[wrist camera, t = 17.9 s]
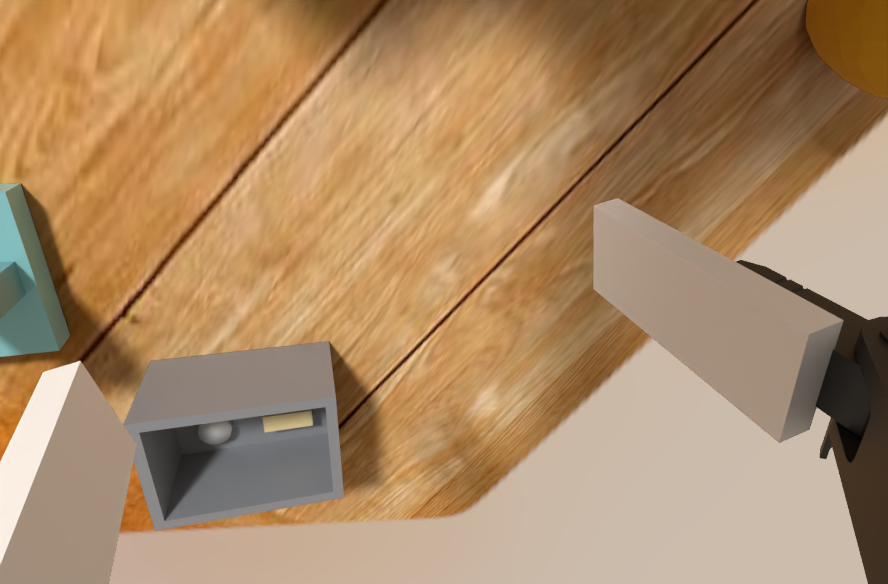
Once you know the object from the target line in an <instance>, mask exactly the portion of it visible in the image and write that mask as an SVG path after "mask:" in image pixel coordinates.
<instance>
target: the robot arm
mask: <svg viewBox="0 0 888 584" xmlns="http://www.w3.org/2000/svg"><path fill="white" fill-rule="evenodd" d="M593 289H594V290H595V291H596V292H597V293H599V294H600V295H601V296H602V297H603V298H605V299H606V300H607V301H608V302H610V303H611V304H612V305H613V306H614V307H616V308H617V309H618V310H619V311H620V312H622V313H623V314H624V315H625V316H626V317H628V318H629V319H630V320H631V321H632V322H634V323H635V324H636V325H637V326H639V327H640V328H641V329H642V330H643V331H645V332H646V333H647V334H648V335H649V336H651V337H652V338H653V339H654V340H655V341H657V342H658V343H659V344H660V345H661V346H663V347H664V348H665V349H666V350H668V351H669V352H670V353H671V354H673V355H674V356H675V357H676V358H677V359H678V360H680V361H681V362H682V363H683V364H684V365H686V366H687V367H688V368H689V369H691V370H692V371H693V372H694V373H695V374H697V375H698V376H699V377H700V378H701V379H703V380H704V381H705V382H706V383H708V384H709V385H710V386H711V387H712V388H713V389H715V390H716V391H717V392H718V393H720V394H721V395H722V396H723V397H724V398H726V399H727V400H728V401H729V402H731V403H732V404H733V405H734V406H735V407H737V408H738V409H739V410H740V411H741V412H742V413H744V414H745V415H746V416H747V417H749V418H750V419H751V420H752V421H753V422H755V423H756V424H757V425H758V426H759V427H761V428H762V429H763V430H764V431H765V432H767V433H768V434H769V435H770V436H772V437H773V438H774V439H775V440H776V441H778V442H779V443H780V442H782V441H784V440H787V439H789V438H791V437H794V436H796V435H798V434H800V433H803V432H805V431H807V430H809V429H810V426H811V423H812V420H813V417H814V413H815V410H816V407H817V408H819V409H820V410H822V411H823V412H824V413H826V414H827V415H829V416H830V417H831V419H830V422H829V425H828V429H827V431H826V435H825V437H824V440H823V443H822V446H821V449H820V458H823V459H826V458H827V455H828V452H829V450H830V448H832V447H833V451H834V455H835V459H836V463H837V467H838V470H839V474H840V478H841V482H842V486H843V489H844V493H845V497H846V501H847V505H848V509H849V513H850V516H851V520H852V524H853V528H854V532H855V535H856V539H857V543H858V547H859V551H860V555H861V558H862V562H863V566H864V570H865V574H866V578H867V581H868V584H888V317H878V318H875V319H871V320H867V319H865V318H863V317H861V316H859V315H857V314H855V313H853V312H852V311H850V310H848V309H846V308H844V307H842V306H840V305H838V304H836V303H834V302H832V301H830V300H829V299H827V298H825V297H823V296H821V295H819V294H817V293H815V292H813V291H811V290H809V289H803V286H802V285H800V284H798V283H796V282H794V281H792V280H787V279H786V277H784V276H782V275H780V274H779V273H777V272H775V271H772V270H771V269H769V268H767V267H764V266H760V265H757V264H753V263H750V262H746V261H743V260H739V261H737V262H735V261H733V260H731V259H729V258H728V257H726V256H724V255H722V254H720V253H718V252H717V251H715V250H713V249H711V248H709V247H707V246H705V245H704V244H702V243H700V242H698V241H696V240H694V239H693V238H691V237H689V236H687V235H685V234H683V233H681V232H680V231H678V230H676V229H674V228H672V227H670V226H669V225H667V224H665V223H663V222H661V221H659V220H657V219H656V218H654V217H652V216H650V215H648V214H646V213H645V212H643V211H641V210H639V209H637V208H635V207H633V206H632V205H630V204H628V203H626V202H624V201H622V200H621V199H619V198H616V199H613V200H610V201H606V202H603V203H600V204H596V205H594V283H593ZM136 445H137V444H136V443H135V441H134V440H133V438H132V437H131V435H130V434H129V432H128V431H127V429H126V428H125V426H124V425H123V423H122V422H121V420H120V419H119V417H118V416H117V414H116V413H115V411H114V410H113V408H112V407H111V405H110V404H109V402H108V401H107V399H106V398H105V397H104V395H103V394H102V392H101V391H100V389H99V388H98V386H97V385H96V383H95V382H94V380H93V379H92V377H91V376H90V374H89V373H88V371H87V370H86V368H85V367H84V365H83V364H82V362H81V361H78V362H75V363H72V364H68V365H65V366H62V367H58V368H55V369H52V370H48V371H45V372H43V374H42V376H41V378H40V380H39V382H38V384H37V386H36V388H35V391H34V393H33V395H32V397H31V399H30V401H29V403H28V405H27V407H26V409H25V411H24V414H23V416H22V418H21V420H20V422H19V424H18V426H17V428H16V430H15V432H14V434H13V437H12V439H11V441H10V443H9V445H8V447H7V449H6V451H5V453H4V455H3V457H2V460H1V462H0V584H109V581H110V576H111V571H112V566H113V561H114V556H115V551H116V546H117V541H118V536H119V531H120V526H121V521H122V516H123V511H124V506H125V501H126V496H127V491H128V486H129V481H130V476H131V471H132V466H133V460H134V455H135V450H136Z"/></svg>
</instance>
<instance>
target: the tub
mask: <svg viewBox="0 0 888 584" xmlns="http://www.w3.org/2000/svg"><path fill="white" fill-rule="evenodd" d="M123 425H124V426H125V428H126V429H127V431H128V432H129V434H130V435H131V437H132V438H133V440H134V441H135V443H136V444H137V445H136V450H135V455H134V463H135V466H136V469H137V473H138V476H139V479H140V483H141V486H142V489H143V493H144V496H145V499H146V502H147V506H148V509H149V512H150V516H151V519H152V522H153V526H154V529H155V531H158V530H164V529H169V528H175V527H180V526H186V525H192V524H197V523H203V522H209V521H214V520H220V519H226V518H231V517H237V516H243V515H248V514H254V513H259V512H265V511H271V510H276V509H282V508H288V507H293V506H299V505H305V504H310V503H316V502H322V501H327V500H333V499H338V498H344V490H343V478H342V466H341V454H340V442H339V429H338V417H337V405H336V394H335V386H334V378H333V370H332V361H331V353H330V345H329V341H328V342H319V343H310V344H301V345H292V346H283V347H274V348H264V349H255V350H246V351H237V352H228V353H219V354H210V355H200V356H191V357H182V358H173V359H164V360H155V361H150V363H149V366H148V368H147V370H146V373H145V375H144V378H143V380H142V382H141V385H140V387H139V389H138V392H137V394H136V396H135V399H134V401H133V403H132V406H131V408H130V410H129V413H128V415H127V417H126V420H125V422H124V424H123Z"/></svg>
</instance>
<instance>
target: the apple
mask: <svg viewBox="0 0 888 584" xmlns="http://www.w3.org/2000/svg"><path fill="white" fill-rule="evenodd" d="M806 30H807V32H808V34H809V37H810V39H811V42H812V44H813V46H814V48H815V50H816V52H817V53H818V55H819V57H820V58H821V59H822V60H823V61H824V62H826V63H827V64H828V65H829V66H830V67H831V68H832V69H833V70H834V71H835V72H836V73H837V74H838V75H839V76H840V77H841V78H842V79H843V80H845V81H847V82H849V83H850V84H852V85H854V86H855V87H857V88H859V89H861V90H862V91H864V92H867V93H869V94H871V95H873V96H877V97H883V98H888V0H808V2H807V8H806Z"/></svg>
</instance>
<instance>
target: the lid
mask: <svg viewBox="0 0 888 584" xmlns="http://www.w3.org/2000/svg"><path fill="white" fill-rule="evenodd" d="M69 337H70V333H69V330H68V327H67V324H66V321H65V318H64V315H63V312H62V309H61V306H60V303H59V299H58V296H57V293H56V290H55V287H54V284H53V281H52V278H51V275H50V272H49V269H48V266H47V263H46V260H45V257H44V253H43V250H42V247H41V244H40V241H39V238H38V235H37V232H36V229H35V226H34V223H33V220H32V217H31V214H30V211H29V207H28V204H27V201H26V198H25V195H24V192H23V189H22V186H21V183H17V184H0V357H3V356H13V355H23V354H33V353H43V352H52V351H59V350H60V349H61V348H62V346H63V345H64V344H65V342H66V341H67V339H68V338H69Z"/></svg>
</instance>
